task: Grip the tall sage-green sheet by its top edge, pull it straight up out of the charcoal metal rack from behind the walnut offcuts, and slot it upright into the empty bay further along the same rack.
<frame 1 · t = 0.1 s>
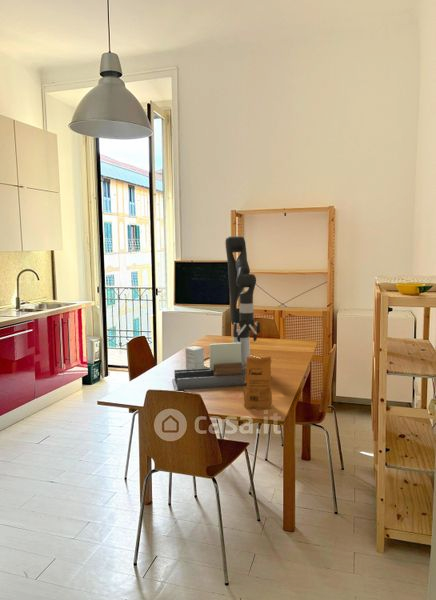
hand: (246, 341, 257), 17 cm above the table, tool pointing down, fingers open, 8 cm apart
supplement box: (194, 370, 266), on the table
rack: (211, 384, 240), on the table
coffee package: (257, 405, 210), on the table
tall sheet: (225, 377, 246), point 1 cm above the table, touching rack
offcut bundle: (228, 382, 238), point 1 cm above the table, touching rack
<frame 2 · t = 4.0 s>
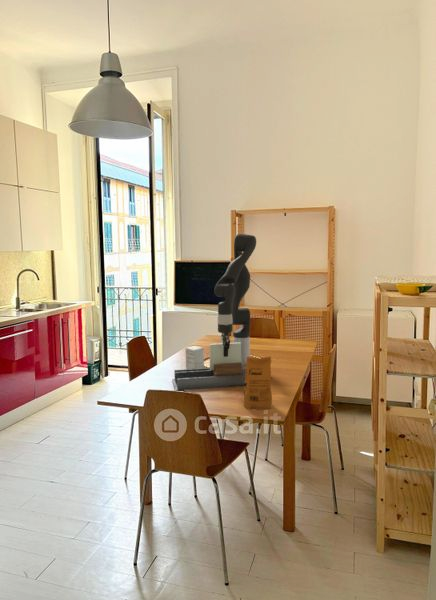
hand: (225, 355, 244), 13 cm above the table, tool pointing down, fingers closed on tall sheet, 1 cm apart
tall sheet: (225, 377, 246), point 2 cm above the table, touching gripper, rack
everything else where it was.
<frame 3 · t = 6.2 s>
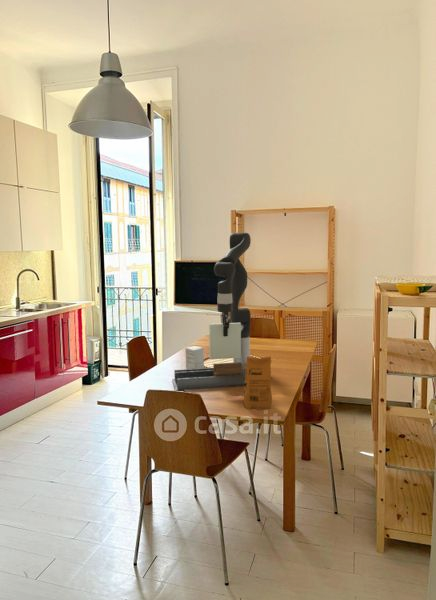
hand: (225, 335, 243), 24 cm above the table, tool pointing down, fingers closed on tall sheet, 1 cm apart
tall sheet: (225, 358, 245), point 12 cm above the table, touching gripper
everything else where it was.
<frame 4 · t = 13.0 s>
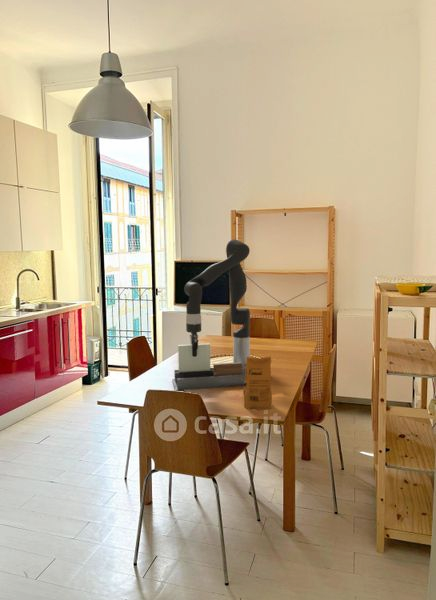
hand: (194, 355, 241), 14 cm above the table, tool pointing down, fingers closed on tall sheet, 1 cm apart
tall sheet: (194, 379, 243), point 2 cm above the table, touching gripper
everything else where it was.
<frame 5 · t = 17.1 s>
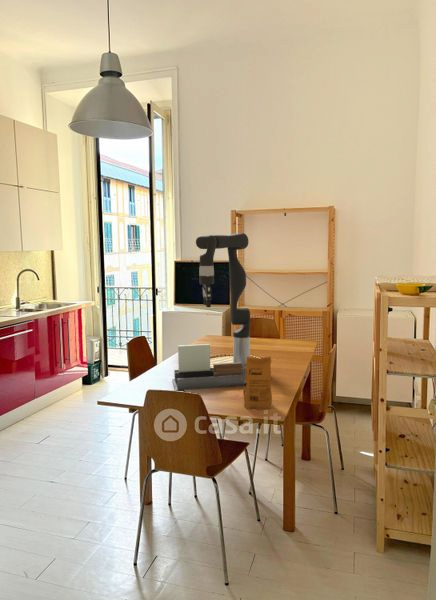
hand: (207, 305, 246), 38 cm above the table, tool pointing down, fingers open, 8 cm apart
tall sheet: (194, 379, 243), point 1 cm above the table, touching rack
everything else where it was.
at the end: tall sheet 0.1 cm from the target spot on the rack, point 1.5 cm above the rack's base; tall sheet tilted 0°; offcut bundle moved 0.0 cm from its start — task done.
